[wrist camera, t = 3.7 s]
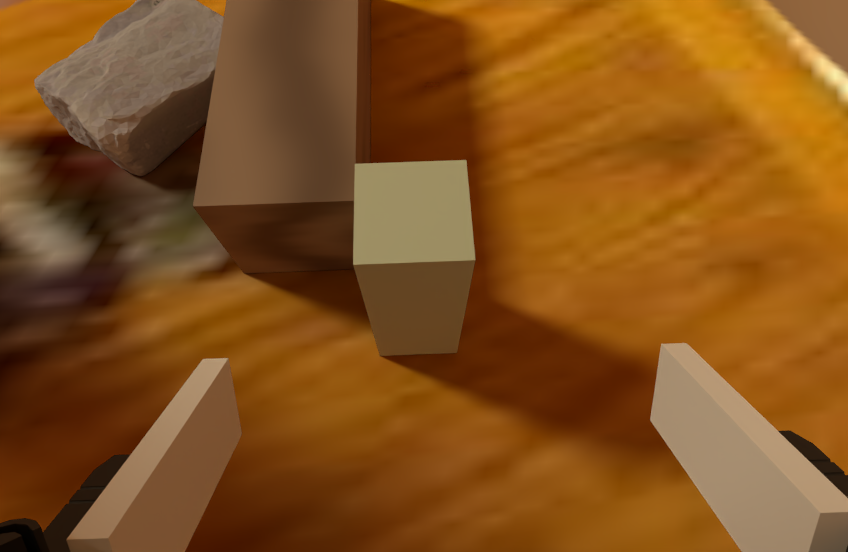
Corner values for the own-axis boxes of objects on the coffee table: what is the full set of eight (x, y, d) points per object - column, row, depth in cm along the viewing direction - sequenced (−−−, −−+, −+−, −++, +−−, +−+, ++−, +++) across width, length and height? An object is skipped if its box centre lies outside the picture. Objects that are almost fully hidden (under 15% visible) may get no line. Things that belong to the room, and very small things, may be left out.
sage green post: (379, 356, 27) (353, 264, 17) (379, 285, 29) (354, 163, 19) (456, 352, 27) (475, 260, 17) (451, 282, 29) (466, 160, 19)
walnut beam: (244, 273, 29) (192, 206, 23) (274, -2, 38) (244, -106, 32) (370, 268, 29) (354, 200, 23) (370, -5, 38) (359, -109, 32)
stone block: (61, 139, 35) (147, 192, 31) (3, 78, 31) (93, 130, 27) (191, 40, 40) (282, 75, 36) (155, -24, 36) (252, 6, 32)
